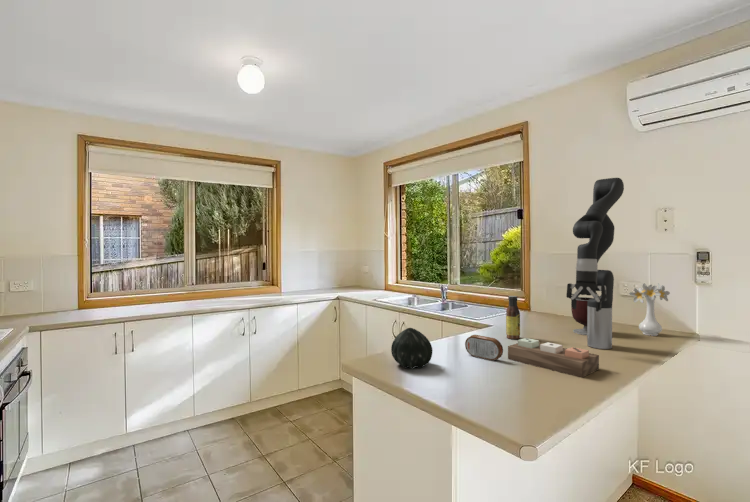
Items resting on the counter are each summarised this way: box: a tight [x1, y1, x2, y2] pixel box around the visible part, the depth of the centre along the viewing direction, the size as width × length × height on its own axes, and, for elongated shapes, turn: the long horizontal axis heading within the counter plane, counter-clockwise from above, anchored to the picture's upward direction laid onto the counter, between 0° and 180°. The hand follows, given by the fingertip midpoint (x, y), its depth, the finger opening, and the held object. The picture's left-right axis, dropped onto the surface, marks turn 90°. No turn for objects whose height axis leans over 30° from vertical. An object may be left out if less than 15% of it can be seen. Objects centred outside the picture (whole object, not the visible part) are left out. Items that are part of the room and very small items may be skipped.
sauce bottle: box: [505, 295, 521, 340], centre depth 179 cm, size 7×6×20 cm
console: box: [507, 342, 600, 379], centre depth 140 cm, size 14×27×5 cm, turn 39°
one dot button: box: [540, 341, 564, 354], centre depth 140 cm, size 6×6×4 cm
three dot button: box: [565, 346, 590, 359], centre depth 133 cm, size 6×6×4 cm
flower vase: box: [629, 283, 671, 337], centre depth 185 cm, size 13×18×25 cm
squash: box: [390, 327, 434, 369], centre depth 138 cm, size 14×15×15 cm
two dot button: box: [517, 337, 540, 348], centre depth 147 cm, size 6×6×4 cm
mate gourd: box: [571, 293, 593, 336], centre depth 190 cm, size 16×14×20 cm
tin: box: [464, 334, 504, 361], centre depth 147 cm, size 15×3×8 cm, turn 47°
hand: (585, 310), depth 153 cm, fingers open, 8 cm apart
